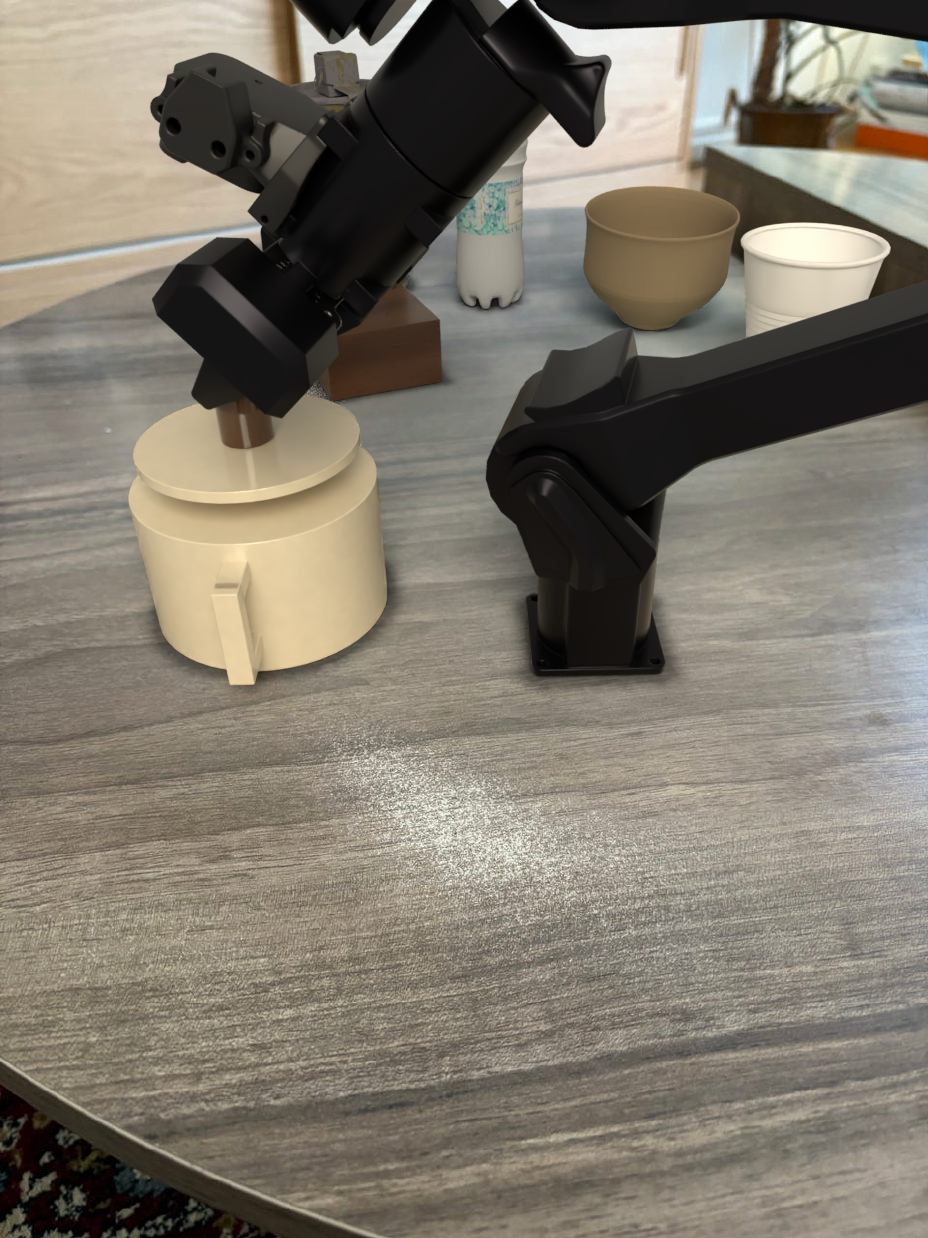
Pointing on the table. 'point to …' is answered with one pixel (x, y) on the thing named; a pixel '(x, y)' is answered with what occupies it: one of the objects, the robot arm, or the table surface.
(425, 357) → the stand
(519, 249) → the bottle
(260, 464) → the lid
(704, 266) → the bowl
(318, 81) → the canister
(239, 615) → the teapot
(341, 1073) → the table surface
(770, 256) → the cup
